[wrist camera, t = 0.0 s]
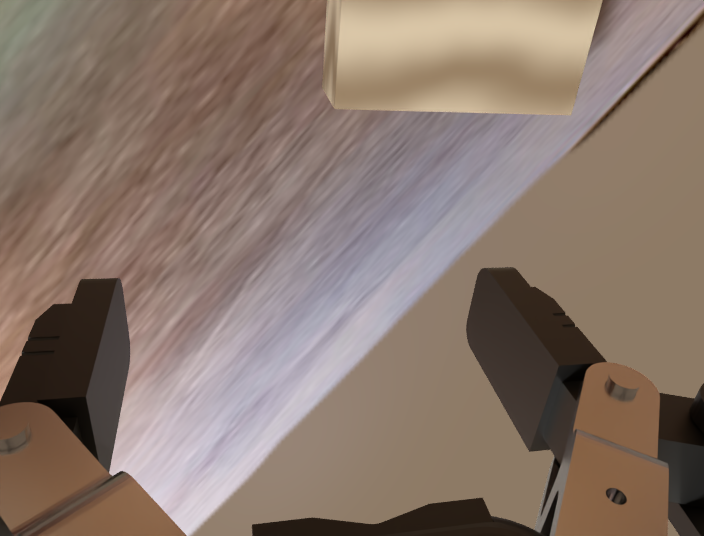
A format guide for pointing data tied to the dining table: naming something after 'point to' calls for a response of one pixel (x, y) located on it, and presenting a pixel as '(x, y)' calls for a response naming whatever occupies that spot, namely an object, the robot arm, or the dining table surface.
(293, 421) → the dining table surface
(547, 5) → the oak pedestal
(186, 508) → the dining table surface
